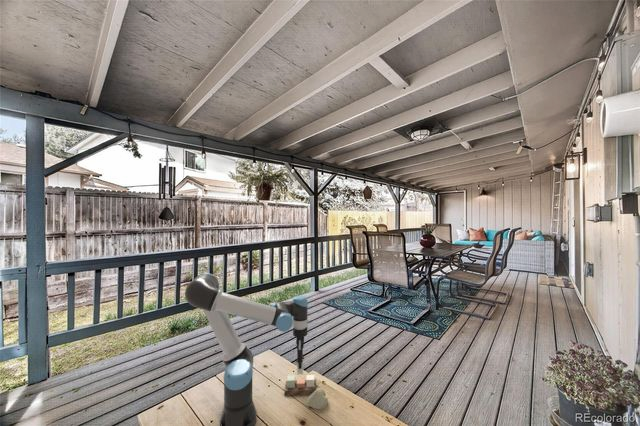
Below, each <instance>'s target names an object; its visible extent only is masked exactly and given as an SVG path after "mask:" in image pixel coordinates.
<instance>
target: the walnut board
mask: <svg viewBox="0 0 640 426" xmlns="http://www.w3.org/2000/svg"><path fill="white" fill-rule="evenodd" d="M306 380H307V379H305V388H297V379H295V388H287V380H285V386H284V392H283V393H284V396H293V395H295V396H297V395H311V394H312V393H313V392H314V391H315V390H316V389H317V379H314V387H307V381H306Z"/></svg>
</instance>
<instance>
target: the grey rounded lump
mask: <svg viewBox="0 0 640 426" xmlns="http://www.w3.org/2000/svg"><path fill="white" fill-rule="evenodd" d="M326 395H327V394H326V392H325V390H324V389H322V388H316V390H315V391H314V392H313V393H312V394H309V396H308V398H307V402H306V405H307V406H309V407H311V408H313V409H318V410H320V409H324V408H325V407H326V406H327V404H328V397H327V396H326Z"/></svg>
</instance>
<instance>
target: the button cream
mask: <svg viewBox="0 0 640 426" xmlns="http://www.w3.org/2000/svg"><path fill="white" fill-rule="evenodd" d="M305 380H306V381H307V386H306V388H315V386H314V380H315V374H306V379H305Z"/></svg>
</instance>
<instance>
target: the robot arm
mask: <svg viewBox="0 0 640 426" xmlns="http://www.w3.org/2000/svg"><path fill="white" fill-rule="evenodd" d="M219 286H220V282H219V279H218V277H217V276H216V275H214V274H212V273H208V272H207V273H202V274H199V275H198V276H196V277H194V279H193V280H192V281H191V282H189V284H188V285H187V286H186V287H185V291H184V297H185V300H186V302H187V303H188V304H189V305H191V306H192V307H195V308H197V309H199V310H202V311H203V312H204V314H205V317H206V318H207V321H208V323H209V325H210V327H211V329H212V332H213V333H214V336H215V338H216V340H217V342H218V344H219V347H220V348H221V350H222V353H223V355H222V361H223V364H224V365H225V369H224V373H223V391H224V392H223V410H222V412H221V416H220V417H219V426H255V424H256V423H257V409H256V406H255V402H254V401H253V375H254V374H253V373H254V355H253V352H252V350H251V349H250V348H249V347H247V345H246V343H245V342H242V341H241V340H240V337H239V336H238V333H237V331H236V329H235V327H234V324H233V322H232V320H231V318H230V316H229V315H233V316H235V317H240V318H242V319H243V318H244V319H247V320H251V321H255V322H259V323H262V324H265V325H269V326H271V327H272V326H273V327H276V328H277V330H278V331H280V332H282V333H283V332H284V333H285V332H287V331H289V330H291V328H292V335H293V336H294V337H295V338H296V339H295V343H296V349H297V350H296V351H297V359H296V361H295V362H296V363H297V366H296V367H297V368H296V369H297V371H296V372H297V373H296V374H297V375H303V372H304V370H303V369H304V365H303V364H304V363H303V362H304V359H305V357H304V353H303V351H304V344H305V337H307V335H308V323H309V322H310V321H309V320H308V309H309V307H308V306H309V305H308V298H307V297H306V296H305V295H295V296H293V298H292V300H290V301H275V302H271V303H270V304H269V305H268V304H264V303H261V302H257V301H253V300H251V299H247V298H244V297H240V296H236V295H233V294H230V293H226V292H223V291H222V289H221V288H220V287H219Z"/></svg>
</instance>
